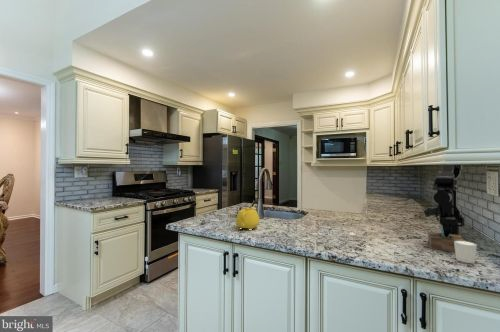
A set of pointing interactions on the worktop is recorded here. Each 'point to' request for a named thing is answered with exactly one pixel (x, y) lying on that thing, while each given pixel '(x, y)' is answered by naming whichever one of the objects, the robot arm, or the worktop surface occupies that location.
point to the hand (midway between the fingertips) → (445, 235)
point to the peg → (443, 233)
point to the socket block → (443, 241)
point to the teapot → (247, 218)
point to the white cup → (465, 251)
